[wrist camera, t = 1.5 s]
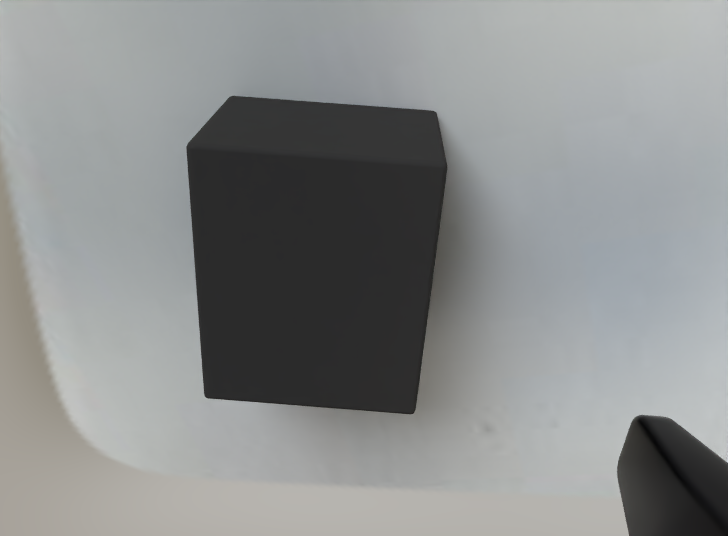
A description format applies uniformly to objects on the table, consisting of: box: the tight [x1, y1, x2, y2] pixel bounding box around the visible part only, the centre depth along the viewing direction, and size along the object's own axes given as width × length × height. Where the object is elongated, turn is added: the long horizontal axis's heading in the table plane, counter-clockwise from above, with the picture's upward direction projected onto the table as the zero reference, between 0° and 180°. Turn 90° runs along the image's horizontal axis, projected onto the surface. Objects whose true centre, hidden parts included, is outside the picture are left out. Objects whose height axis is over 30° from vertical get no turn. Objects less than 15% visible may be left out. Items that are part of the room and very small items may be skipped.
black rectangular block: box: [187, 96, 447, 414], centre depth 12 cm, size 5×4×3 cm
